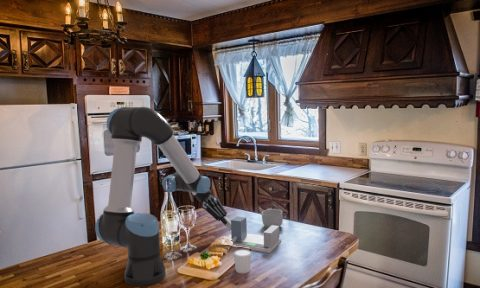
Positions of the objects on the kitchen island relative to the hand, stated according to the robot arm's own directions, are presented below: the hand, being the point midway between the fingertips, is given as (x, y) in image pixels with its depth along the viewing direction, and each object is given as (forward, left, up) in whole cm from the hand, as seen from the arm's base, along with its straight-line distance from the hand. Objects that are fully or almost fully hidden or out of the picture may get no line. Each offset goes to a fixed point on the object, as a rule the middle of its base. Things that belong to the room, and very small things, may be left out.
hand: (232, 228), depth 174 cm
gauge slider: (-4, -2, -4) cm, 6 cm away
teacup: (+15, -23, -6) cm, 28 cm away
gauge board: (-6, -8, -6) cm, 11 cm away
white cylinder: (-32, 0, -6) cm, 32 cm away
